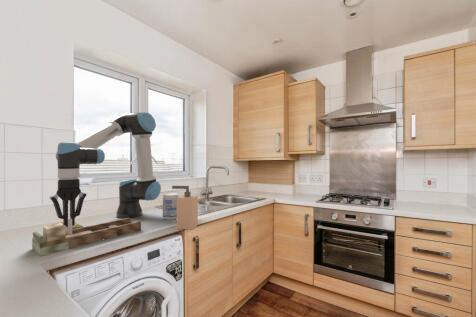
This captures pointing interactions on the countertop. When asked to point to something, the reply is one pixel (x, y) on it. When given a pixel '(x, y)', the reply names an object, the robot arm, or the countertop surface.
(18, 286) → the countertop surface
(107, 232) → the tray
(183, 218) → the soap dispenser
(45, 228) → the block
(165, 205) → the supplement tub
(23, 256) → the countertop surface
